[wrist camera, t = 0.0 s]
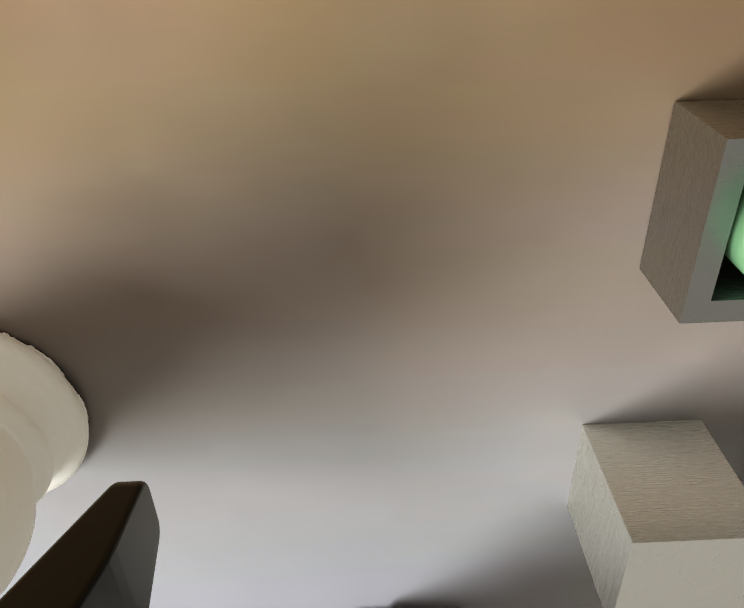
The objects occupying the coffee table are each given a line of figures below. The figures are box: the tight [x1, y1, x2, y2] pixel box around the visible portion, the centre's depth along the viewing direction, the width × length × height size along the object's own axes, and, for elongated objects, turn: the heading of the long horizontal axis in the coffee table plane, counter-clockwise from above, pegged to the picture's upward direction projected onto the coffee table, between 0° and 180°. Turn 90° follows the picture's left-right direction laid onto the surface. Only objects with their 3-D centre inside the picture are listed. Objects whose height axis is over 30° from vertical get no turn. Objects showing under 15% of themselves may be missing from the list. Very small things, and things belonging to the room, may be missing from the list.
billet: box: [567, 420, 744, 608], centre depth 28 cm, size 5×5×6 cm
